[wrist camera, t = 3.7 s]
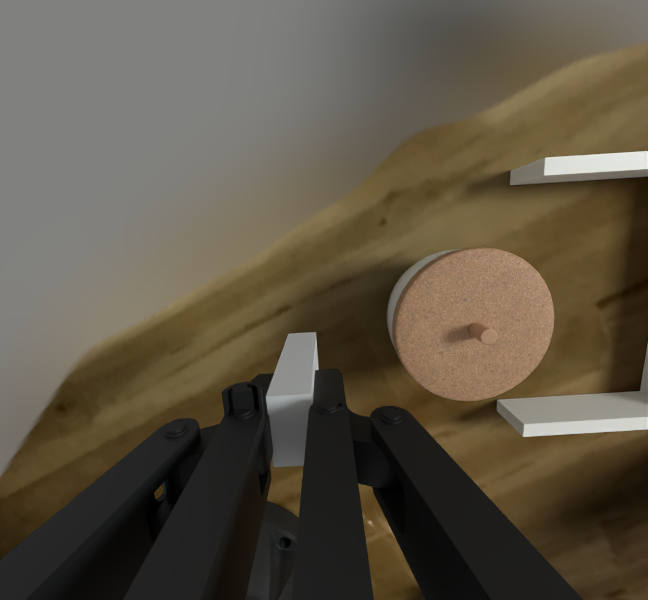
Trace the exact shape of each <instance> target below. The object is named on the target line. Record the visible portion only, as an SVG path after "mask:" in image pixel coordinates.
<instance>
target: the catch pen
mask: <svg viewBox="0 0 648 600" xmlns="http://www.w3.org/2000/svg"><path fill="white" fill-rule="evenodd" d="M633 177H648V151H643V152H627V153H611V154H595V155H580V156H564V157H548V158H543V159H540V160H538V161H535V162H532V163H529V164H526V165H524V166H521V167H518V168H515V169H513V170H511V173H510V185H522V184H538V183H554V182H569V181H585V180H601V179H617V178H633ZM497 412H498V413H499V414H500V415H501V416H502V417H503V418H504V419H505V420H506V421H508V422H509V423H510V424H511V425H512V426H513V427H514V428H515V429H516V430H517V431H518V432H519V433H520V434H521V435H522V436H523V437H528V436H545V435H561V434H578V433H594V432H611V431H627V430H644V429H648V343H647V350H646V356H645V362H644V368H643V374H642V381H641V387H640V391H633V392H616V393H600V394H583V395H567V396H550V397H534V398H517V399H501V400H497Z"/></svg>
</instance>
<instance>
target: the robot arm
mask: <svg viewBox="0 0 648 600" xmlns="http://www.w3.org/2000/svg"><path fill="white" fill-rule="evenodd" d="M222 399H223V406H224V412H225V415H224V417H223V419H222V421H221V423H220V424H217V425H214V426H210V427H206V428H202V429H200V428H199V423H198V422H197V421H196V420H195V419H191V418H182V419H177V420H174V421H172V422H170V423H167V424H165V425H164V426H162V427H161V428H159V429H158V430H157V431H156V432H154V433H153V434H152V435H151V436H149V437H148V438H147V439H146V440H145V441H143V442H142V443H141V444H140V445H139V446H137V447H136V448H135V449H134V450H132V451H131V452H130V453H129V454H128V455H126V456H125V457H124V458H123V459H122V460H120V461H119V462H118V463H117V464H116V465H114V466H113V467H112V468H111V469H109V470H108V471H107V472H106V473H105V474H103V475H102V476H101V477H100V478H99V479H97V480H96V481H95V482H94V483H92V484H91V485H90V486H89V487H88V488H86V489H85V490H84V491H83V492H82V493H80V494H79V495H78V496H77V497H76V498H74V499H73V500H72V501H71V502H69V503H68V504H67V505H66V506H65V507H63V508H62V509H61V510H60V511H59V512H57V513H56V514H55V515H54V516H52V517H51V518H50V519H49V520H48V521H46V522H45V523H44V524H43V525H42V526H40V527H39V528H38V529H37V530H36V531H34V532H33V533H32V534H31V535H29V536H28V537H27V538H26V539H25V540H23V541H22V542H21V543H20V544H19V545H17V546H16V547H15V548H14V549H12V550H11V551H10V552H9V553H8V554H6V555H5V556H4V557H3V558H2V559H0V600H374V599H373V591H372V584H371V576H370V569H369V561H368V554H367V546H366V539H365V532H364V524H363V517H362V509H361V502H360V494H359V487H358V483H359V484H363V485H367V486H372V488H373V492H374V495H375V497H376V499H377V501H378V503H379V505H380V507H381V509H382V511H383V513H384V515H385V517H386V519H387V521H388V523H389V526H390V528H391V530H392V532H393V534H394V536H395V538H396V540H397V542H398V544H399V546H400V548H401V550H402V552H403V554H404V556H405V558H406V560H407V562H408V564H409V566H410V568H411V570H412V573H413V575H414V577H415V579H416V581H417V583H418V585H419V587H420V589H421V591H422V593H423V595H424V597H425V599H426V600H583V599H582V598H581V597H580V596H579V595H578V594H577V593H576V592H575V590H574V589H573V588H572V587H571V586H570V585H569V584H568V583H567V582H566V581H565V580H564V579H563V577H562V576H561V575H560V574H559V573H558V572H557V571H556V570H555V569H554V568H553V567H552V566H551V565H550V563H549V562H548V561H547V560H546V559H545V558H544V557H543V556H542V555H541V554H540V553H539V552H538V551H537V549H536V548H535V547H534V546H533V545H532V544H531V543H530V542H529V541H528V540H527V539H526V538H525V537H524V535H523V534H522V533H521V532H520V531H519V530H518V529H517V528H516V527H515V526H514V525H513V524H512V523H511V521H510V520H509V519H508V518H507V517H506V516H505V515H504V514H503V513H502V512H501V511H500V510H499V508H498V507H497V506H496V505H495V504H494V503H493V502H492V501H491V500H490V499H489V498H488V497H487V496H486V494H485V493H484V492H483V491H482V490H481V489H480V488H479V487H478V486H477V485H476V484H475V483H474V482H473V480H472V479H471V478H470V477H469V476H468V475H467V474H466V473H465V472H464V471H463V470H462V469H461V468H460V466H459V465H458V464H457V463H456V462H455V461H454V460H453V459H452V458H451V457H450V456H449V455H448V453H447V452H446V451H445V450H444V449H443V448H442V447H441V446H440V445H439V444H438V443H437V442H436V441H435V439H434V438H433V437H432V436H431V435H430V434H429V433H428V432H427V431H426V430H425V429H424V428H423V427H422V425H421V424H420V423H419V422H418V421H417V420H416V419H415V418H414V417H413V416H412V415H411V414H410V413H409V412H408V411H406V410H405V409H402V408H400V407H396V406H382V407H379V408H376V409H375V410H374V411H373V412H372V413H371V415H370V417H365V416H361V415H357V414H355V413H353V412H352V411H350V410H349V409H348V407H347V405H346V399H345V391H344V384H343V376H342V373H341V372H340V371H339V370H337V369H327V370H319V369H318V354H317V340H316V332H308V333H291V334H288V337H287V339H286V342H285V345H284V348H283V350H282V353H281V356H280V359H279V361H278V364H277V367H276V370H275V373H272V374H259V375H257V376H256V377H255V378H254V379H252V380H251V382H242V383H237V384H234V385H231V386H229V387H228V388H226V389H225V390H224V391H223V392H222ZM272 457H273V465H274V467H287V466H304V468H303V478H302V489H301V500H300V511H299V518H298V517H297V516H295V515H294V514H293V513H291V512H290V511H288V510H287V509H285V508H283V507H281V506H278V505H276V504H273V503H270V502H267V496H268V492H269V487H270V482H271V469H270V463H271V459H272ZM161 484H162V486H163V490H164V493H163V494H162V495H161V496H160V497H159V498H158V499H155V496H154V492H155V491H156V490H157V489H158V488H159V487H160V485H161Z"/></svg>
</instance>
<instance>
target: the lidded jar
mask: <svg viewBox="0 0 648 600" xmlns="http://www.w3.org/2000/svg"><path fill="white" fill-rule="evenodd" d="M387 326H388V331H389V335H390V338H391V341H392V344H393V347H394V348H395V350H396V352H397V355H398V358H399V360H400V361H401V363H402V365H403V367H404V368H405V370H406V371H407V373H408V374H409V375H410V376H411V377H412V379H413V380H414V381H415V382H417V383H418V384H419V385H420V386H421V387H423V388H424V389H426V390H427V391H429V392H431V393H433V394H435V395H438V396H440V397H443V398H447V399H451V400H458V401H475V400H482V399H486V398H491V397H493V396H496V395H499V394H502V393H504V392H506V391H508V390H510V389H511V388H513V387H514V386H516V385H517V384H519V383H520V382H522V381H523V380H524V379H525V378H526V377H527V376H528V375H529V374H530V373H531V372H532V371H533V370H534V369H535V368H536V366H537V365H538V364H539V363H540V361H541V359H542V358H543V356H544V354H545V352H546V350H547V348H548V346H549V343H550V341H551V336H552V332H553V326H554V309H553V303H552V299H551V294H550V292H549V290H548V287H547V285H546V283H545V281H544V280H543V279H542V277H541V276H540V274H539V273H538V272H537V271H536V270H535V269H534V268H533V267H532V266H531V265H530V264H529V263H527V262H526V261H525V260H523V259H522V258H520V257H518V256H516V255H514V254H512V253H510V252H507V251H503V250H499V249H493V248H483V247H476V248H464V249H452V250H447V251H443V252H438V253H435V254H432V255H430V256H427V257H425V258H424V259H422V260H420V261H418V262H417V263H415V264H414V265H413V266H411V267H410V268H409V269H407V271H406V272H405V273H404V274H403V275H402V276H401V277H400V279H399V280H398V281H397V283H396V284H395V286H394V288H393V290H392V292H391V295H390V298H389V302H388V308H387Z"/></svg>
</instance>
